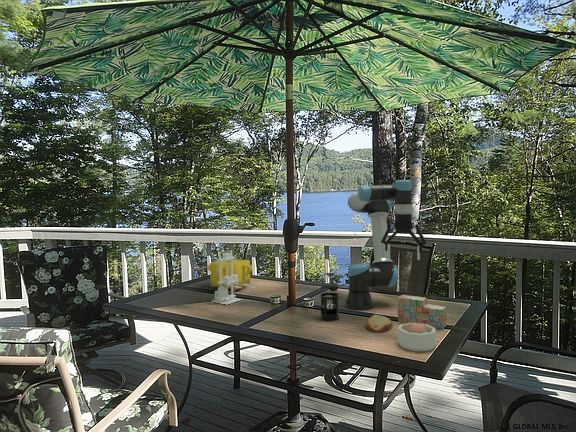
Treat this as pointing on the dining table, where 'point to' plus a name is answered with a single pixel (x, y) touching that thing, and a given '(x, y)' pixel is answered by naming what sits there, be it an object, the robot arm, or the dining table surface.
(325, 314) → the french press
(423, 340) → the white bowl
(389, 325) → the slice of bread
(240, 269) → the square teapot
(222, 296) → the machine
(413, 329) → the toy ball
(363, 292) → the robot arm
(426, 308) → the stack of blocks
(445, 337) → the dining table surface
